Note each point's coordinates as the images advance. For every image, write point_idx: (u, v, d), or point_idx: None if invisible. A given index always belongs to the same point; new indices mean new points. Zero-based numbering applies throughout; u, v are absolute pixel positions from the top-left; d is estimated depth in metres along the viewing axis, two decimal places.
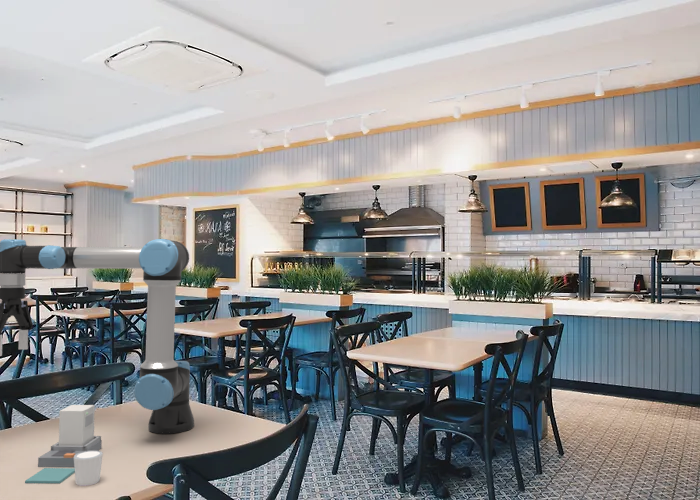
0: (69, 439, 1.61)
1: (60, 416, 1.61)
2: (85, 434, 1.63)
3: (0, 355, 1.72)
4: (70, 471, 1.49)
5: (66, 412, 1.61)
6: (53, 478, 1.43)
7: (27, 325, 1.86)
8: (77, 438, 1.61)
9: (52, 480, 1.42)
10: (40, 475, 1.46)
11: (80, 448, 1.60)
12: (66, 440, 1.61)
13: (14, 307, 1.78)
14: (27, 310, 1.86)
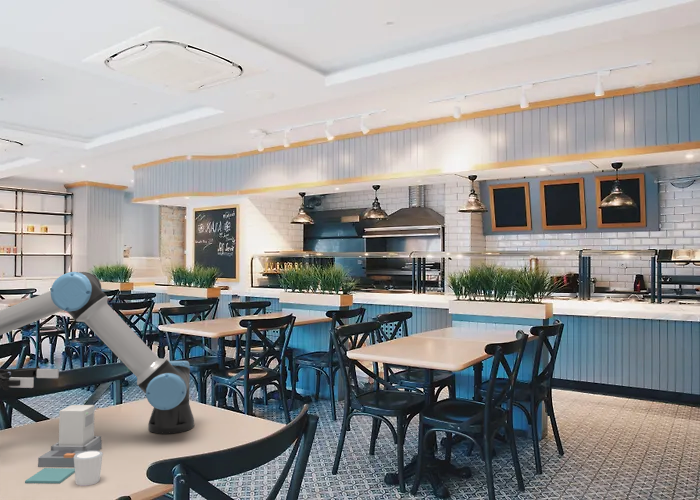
0: (69, 439, 1.61)
1: (60, 416, 1.61)
2: (85, 434, 1.63)
3: (31, 378, 1.58)
4: (70, 471, 1.49)
5: (66, 412, 1.61)
6: (53, 478, 1.43)
7: (33, 369, 1.72)
8: (77, 438, 1.61)
9: (52, 480, 1.42)
10: (40, 475, 1.46)
11: (80, 448, 1.60)
12: (66, 440, 1.61)
13: None
14: (16, 369, 1.72)
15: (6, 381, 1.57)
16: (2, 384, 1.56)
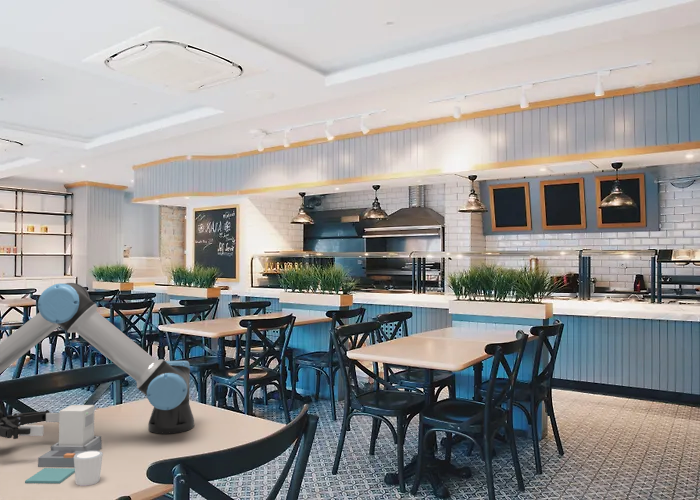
0: (69, 439, 1.61)
1: (60, 416, 1.61)
2: (85, 434, 1.63)
3: (41, 426, 1.57)
4: (70, 471, 1.49)
5: (66, 412, 1.61)
6: (53, 478, 1.43)
7: (42, 413, 1.72)
8: (77, 438, 1.61)
9: (52, 480, 1.42)
10: (40, 475, 1.46)
11: (80, 448, 1.60)
12: (66, 440, 1.61)
13: (3, 418, 1.63)
14: (25, 413, 1.72)
15: (16, 430, 1.56)
16: (12, 433, 1.55)
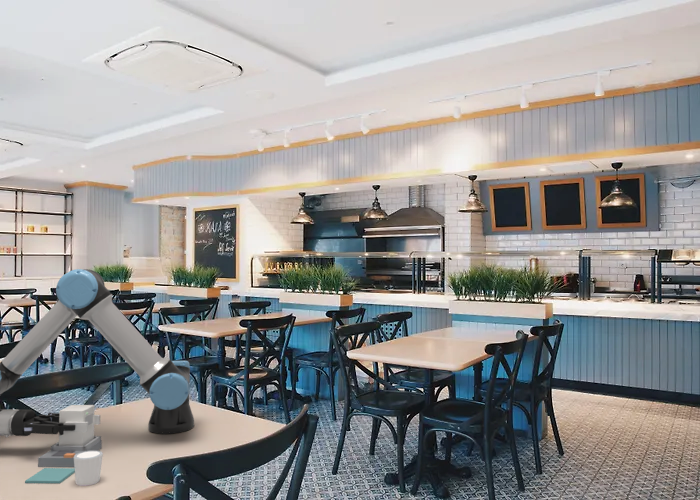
0: (69, 439, 1.61)
1: (60, 416, 1.61)
2: (85, 434, 1.63)
3: (86, 422, 1.60)
4: (70, 471, 1.49)
5: (66, 412, 1.61)
6: (53, 478, 1.43)
7: None
8: (77, 438, 1.61)
9: (52, 480, 1.42)
10: (40, 475, 1.46)
11: (80, 448, 1.60)
12: (66, 440, 1.61)
13: (36, 417, 1.63)
14: (58, 413, 1.71)
15: (62, 426, 1.59)
16: (58, 429, 1.58)
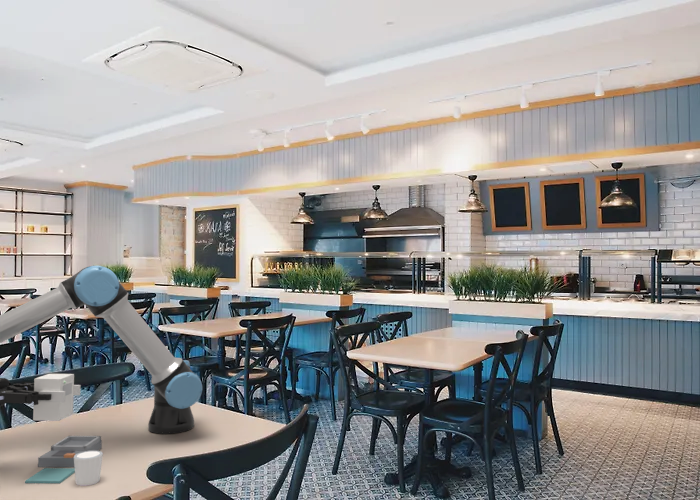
0: (45, 410, 1.46)
1: (35, 384, 1.47)
2: (62, 404, 1.48)
3: (63, 391, 1.46)
4: (70, 471, 1.49)
5: (41, 380, 1.47)
6: (53, 478, 1.43)
7: None
8: (53, 409, 1.46)
9: (52, 480, 1.42)
10: (40, 475, 1.46)
11: (80, 448, 1.60)
12: (41, 411, 1.46)
13: (10, 386, 1.49)
14: None
15: (36, 395, 1.45)
16: (32, 398, 1.44)
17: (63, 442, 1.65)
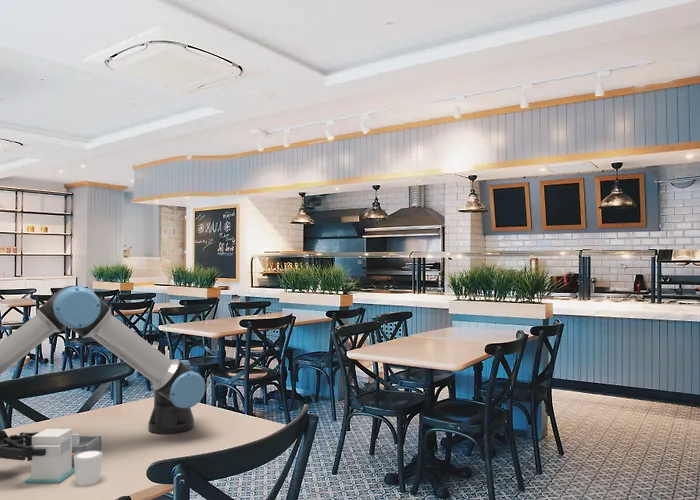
0: (43, 468, 1.43)
1: (32, 442, 1.43)
2: (61, 462, 1.44)
3: (58, 446, 1.41)
4: (70, 471, 1.49)
5: (39, 438, 1.43)
6: None
7: None
8: (52, 467, 1.43)
9: (52, 480, 1.42)
10: None
11: (80, 448, 1.60)
12: (39, 469, 1.43)
13: (6, 439, 1.45)
14: (32, 433, 1.53)
15: (30, 451, 1.40)
16: (26, 454, 1.39)
17: None
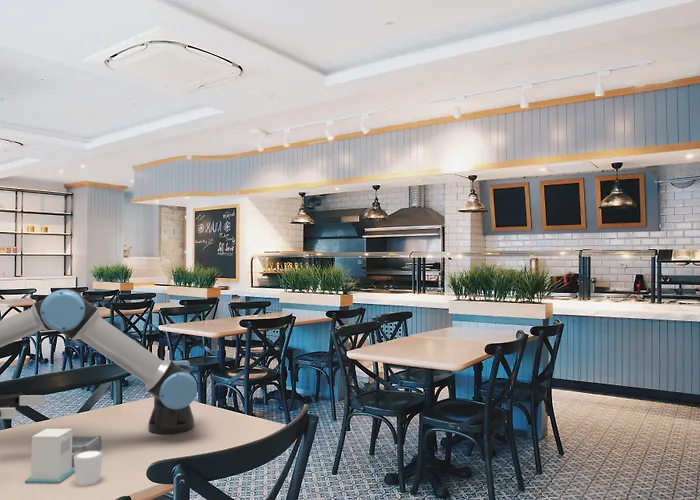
0: (43, 468, 1.43)
1: (32, 442, 1.43)
2: (61, 462, 1.44)
3: (13, 408, 1.45)
4: (70, 471, 1.49)
5: (39, 438, 1.43)
6: None
7: (15, 396, 1.59)
8: (52, 467, 1.43)
9: (52, 480, 1.42)
10: None
11: (80, 448, 1.60)
12: (39, 469, 1.43)
13: None
14: None
15: None
16: None
17: None
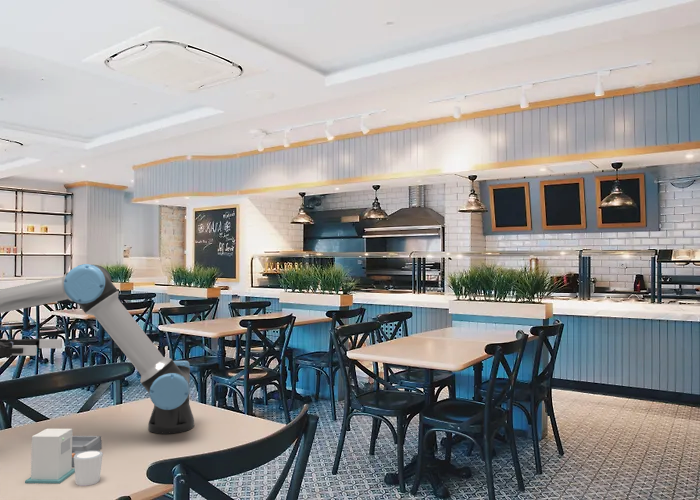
0: (43, 468, 1.43)
1: (32, 442, 1.43)
2: (61, 462, 1.44)
3: (34, 345, 1.55)
4: (70, 471, 1.49)
5: (39, 438, 1.43)
6: None
7: (35, 339, 1.69)
8: (52, 467, 1.43)
9: (52, 480, 1.42)
10: None
11: (80, 448, 1.60)
12: (39, 469, 1.43)
13: None
14: (19, 339, 1.69)
15: (9, 349, 1.54)
16: (5, 352, 1.53)
17: None
